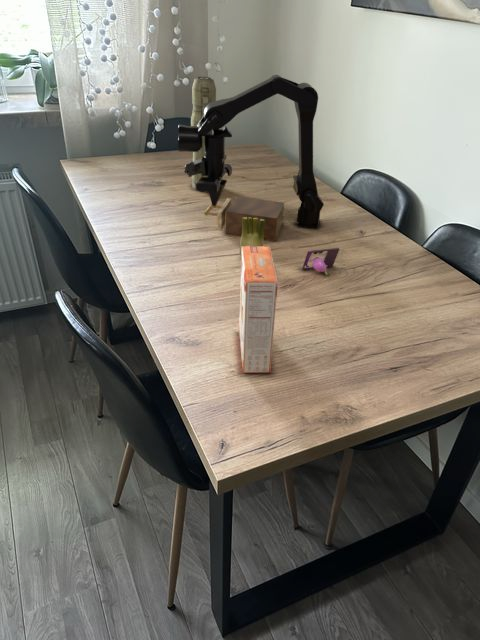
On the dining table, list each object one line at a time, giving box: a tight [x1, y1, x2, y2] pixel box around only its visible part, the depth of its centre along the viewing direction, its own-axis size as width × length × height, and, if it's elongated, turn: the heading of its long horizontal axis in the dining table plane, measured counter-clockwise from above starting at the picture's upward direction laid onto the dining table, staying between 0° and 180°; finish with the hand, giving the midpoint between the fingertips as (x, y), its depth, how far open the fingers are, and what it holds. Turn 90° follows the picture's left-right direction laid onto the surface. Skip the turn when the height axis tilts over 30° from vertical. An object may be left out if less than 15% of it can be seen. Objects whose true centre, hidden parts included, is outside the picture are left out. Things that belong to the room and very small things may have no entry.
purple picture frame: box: [301, 247, 340, 276], centre depth 133 cm, size 7×5×9 cm
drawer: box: [203, 197, 232, 231], centre depth 153 cm, size 19×12×6 cm, turn 79°
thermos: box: [190, 76, 217, 192], centre depth 171 cm, size 9×12×35 cm
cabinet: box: [225, 195, 285, 242], centre depth 153 cm, size 15×13×7 cm
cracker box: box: [238, 246, 279, 374], centre depth 98 cm, size 14×6×21 cm, turn 5°
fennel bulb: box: [239, 217, 265, 256], centre depth 135 cm, size 6×5×12 cm
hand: (214, 205), depth 153 cm, fingers closed
